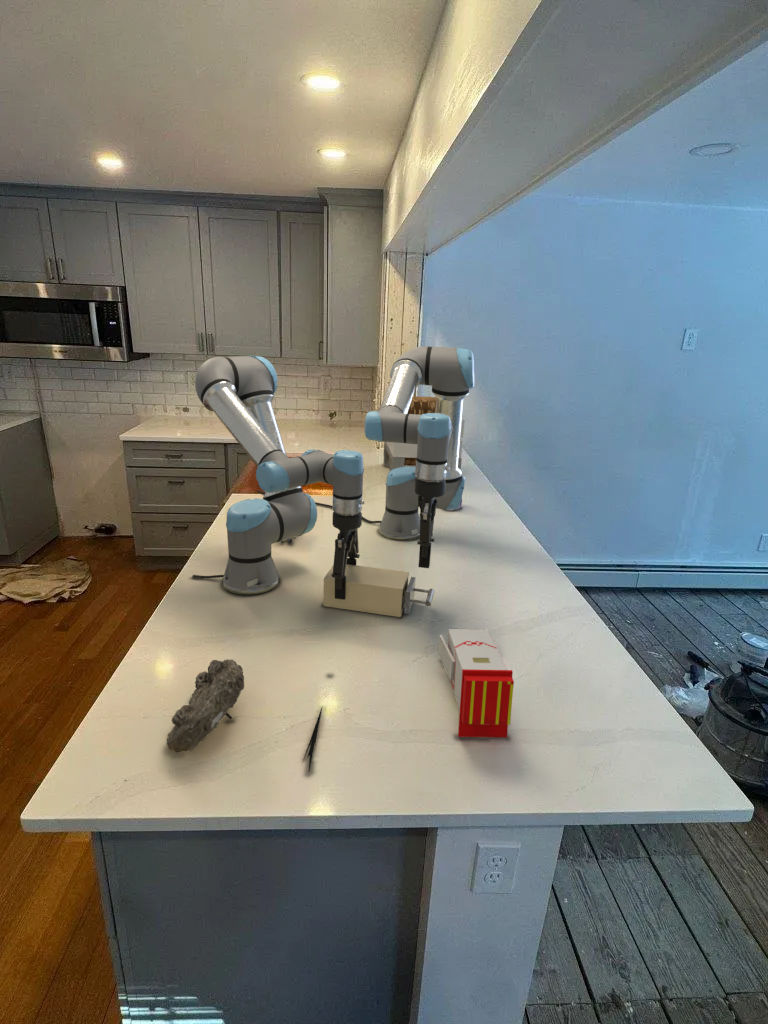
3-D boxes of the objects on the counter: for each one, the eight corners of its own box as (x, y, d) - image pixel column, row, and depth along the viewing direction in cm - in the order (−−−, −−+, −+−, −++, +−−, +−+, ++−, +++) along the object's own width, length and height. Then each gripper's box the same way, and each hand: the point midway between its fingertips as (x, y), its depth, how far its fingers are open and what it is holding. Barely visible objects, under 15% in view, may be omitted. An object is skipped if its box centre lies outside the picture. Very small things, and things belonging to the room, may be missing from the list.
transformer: (382, 463, 289) (386, 382, 275) (445, 464, 293) (451, 384, 279) (390, 482, 257) (394, 392, 243) (460, 483, 261) (468, 394, 247)
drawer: (433, 600, 153) (435, 579, 151) (429, 617, 145) (431, 595, 143) (344, 588, 158) (345, 567, 156) (335, 603, 149) (336, 582, 147)
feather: (331, 679, 122) (336, 673, 122) (307, 777, 96) (313, 769, 95) (324, 675, 122) (329, 669, 121) (298, 772, 95) (304, 764, 95)
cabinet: (407, 598, 155) (408, 572, 153) (400, 617, 146) (402, 589, 143) (334, 588, 159) (334, 562, 156) (323, 606, 150) (323, 578, 147)
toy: (488, 613, 130) (523, 677, 101) (484, 667, 133) (517, 744, 104) (435, 612, 130) (455, 676, 101) (432, 666, 133) (451, 743, 103)
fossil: (192, 660, 117) (244, 628, 112) (224, 691, 120) (276, 661, 115) (142, 746, 98) (202, 712, 93) (182, 779, 101) (242, 748, 96)
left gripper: (350, 528, 134) (348, 611, 141) (371, 499, 155) (368, 572, 162) (319, 525, 135) (319, 607, 143) (345, 496, 156) (343, 569, 164)
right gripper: (443, 487, 131) (435, 579, 139) (448, 472, 143) (441, 558, 151) (411, 484, 132) (405, 575, 140) (419, 470, 144) (413, 554, 152)
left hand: (345, 589), depth 152 cm, fingers closed on cabinet, 10 cm apart
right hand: (424, 566), depth 146 cm, fingers closed
